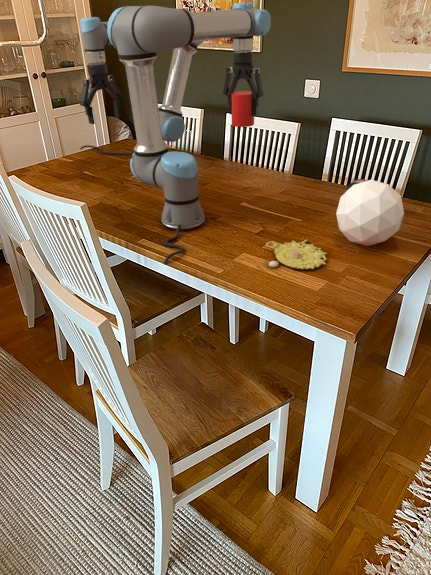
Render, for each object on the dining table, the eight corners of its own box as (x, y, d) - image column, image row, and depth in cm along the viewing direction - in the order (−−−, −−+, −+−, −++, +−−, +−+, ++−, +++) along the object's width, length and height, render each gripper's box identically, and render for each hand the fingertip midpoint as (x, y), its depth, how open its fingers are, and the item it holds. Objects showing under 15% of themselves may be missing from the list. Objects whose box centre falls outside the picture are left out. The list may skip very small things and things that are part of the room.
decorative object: (309, 275, 120) (249, 251, 130) (307, 282, 121) (248, 258, 131) (343, 246, 133) (286, 226, 143) (341, 253, 134) (285, 233, 145)
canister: (229, 123, 183) (228, 91, 176) (249, 121, 185) (250, 90, 178) (235, 127, 175) (235, 95, 169) (257, 125, 177) (257, 93, 171)
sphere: (372, 267, 139) (394, 238, 121) (318, 234, 144) (331, 202, 125) (402, 223, 144) (427, 189, 125) (348, 192, 149) (365, 155, 130)
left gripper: (75, 67, 162) (86, 127, 174) (127, 60, 178) (133, 116, 190) (63, 66, 166) (74, 125, 178) (115, 59, 182) (122, 114, 194)
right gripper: (274, 51, 164) (271, 114, 176) (222, 50, 173) (223, 110, 185) (266, 53, 158) (264, 118, 171) (212, 52, 167) (214, 114, 180)
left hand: (105, 120), depth 184 cm, fingers open, 13 cm apart
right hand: (242, 114), depth 178 cm, fingers closed on canister, 9 cm apart
